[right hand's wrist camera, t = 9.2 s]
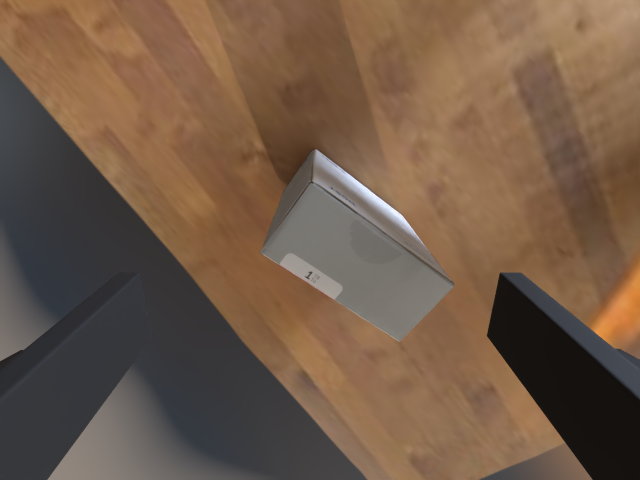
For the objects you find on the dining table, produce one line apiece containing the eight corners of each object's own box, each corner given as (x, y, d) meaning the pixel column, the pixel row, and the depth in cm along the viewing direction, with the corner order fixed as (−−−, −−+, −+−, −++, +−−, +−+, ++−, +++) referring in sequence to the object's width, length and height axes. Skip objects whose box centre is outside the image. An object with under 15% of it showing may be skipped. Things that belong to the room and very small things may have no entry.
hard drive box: (280, 193, 46) (254, 250, 28) (314, 146, 44) (310, 174, 26) (369, 256, 50) (399, 344, 31) (405, 215, 48) (459, 284, 29)
